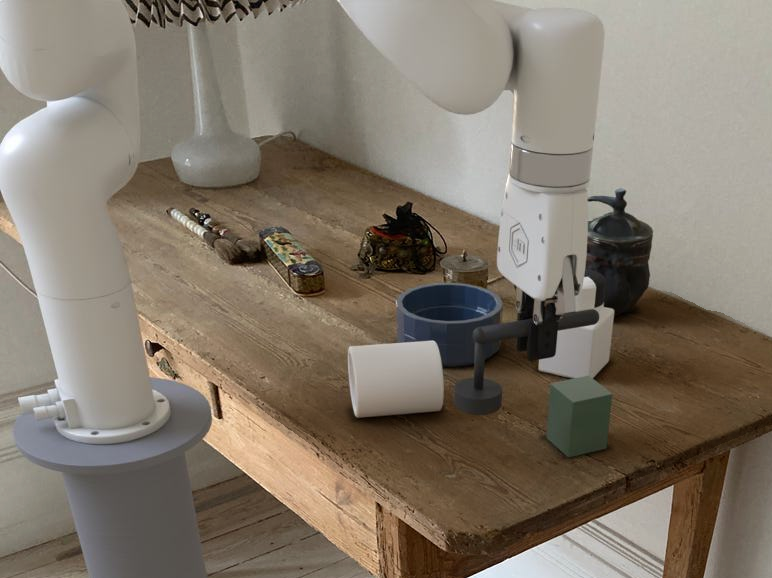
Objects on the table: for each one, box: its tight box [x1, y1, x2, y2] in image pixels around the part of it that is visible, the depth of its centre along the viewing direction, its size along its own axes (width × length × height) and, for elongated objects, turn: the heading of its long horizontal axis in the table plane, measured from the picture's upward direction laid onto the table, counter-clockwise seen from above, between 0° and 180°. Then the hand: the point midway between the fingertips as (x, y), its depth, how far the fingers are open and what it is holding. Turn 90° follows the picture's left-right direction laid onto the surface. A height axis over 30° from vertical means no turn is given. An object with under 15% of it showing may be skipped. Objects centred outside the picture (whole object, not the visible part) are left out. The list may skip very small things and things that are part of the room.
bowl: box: [395, 282, 504, 368], centre depth 134 cm, size 14×14×6 cm
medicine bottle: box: [537, 268, 615, 379], centre depth 128 cm, size 7×7×12 cm
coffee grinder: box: [585, 187, 654, 319], centre depth 140 cm, size 13×15×18 cm
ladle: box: [453, 309, 599, 416], centre depth 107 cm, size 16×5×8 cm, turn 116°
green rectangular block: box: [545, 376, 613, 458], centre depth 114 cm, size 5×5×7 cm
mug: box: [347, 341, 445, 419], centre depth 120 cm, size 12×10×8 cm
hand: (535, 352), depth 107 cm, fingers closed on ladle
